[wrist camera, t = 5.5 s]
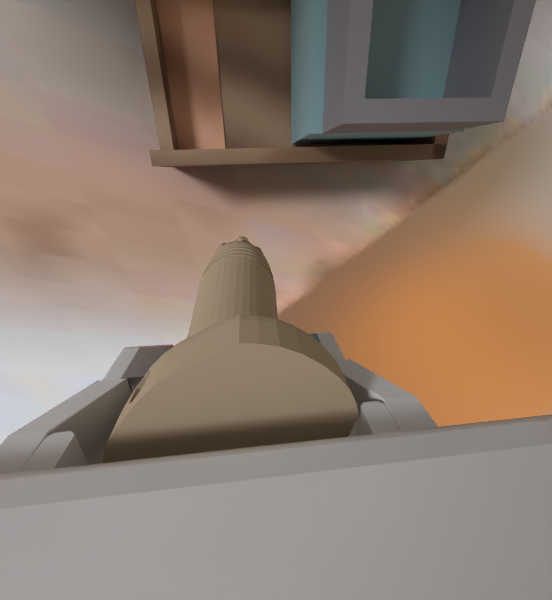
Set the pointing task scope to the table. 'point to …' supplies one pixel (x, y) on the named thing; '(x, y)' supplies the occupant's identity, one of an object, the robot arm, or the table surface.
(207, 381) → the handle
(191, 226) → the table surface
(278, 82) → the bay
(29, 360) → the table surface
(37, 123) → the table surface
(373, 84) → the box
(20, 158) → the table surface
